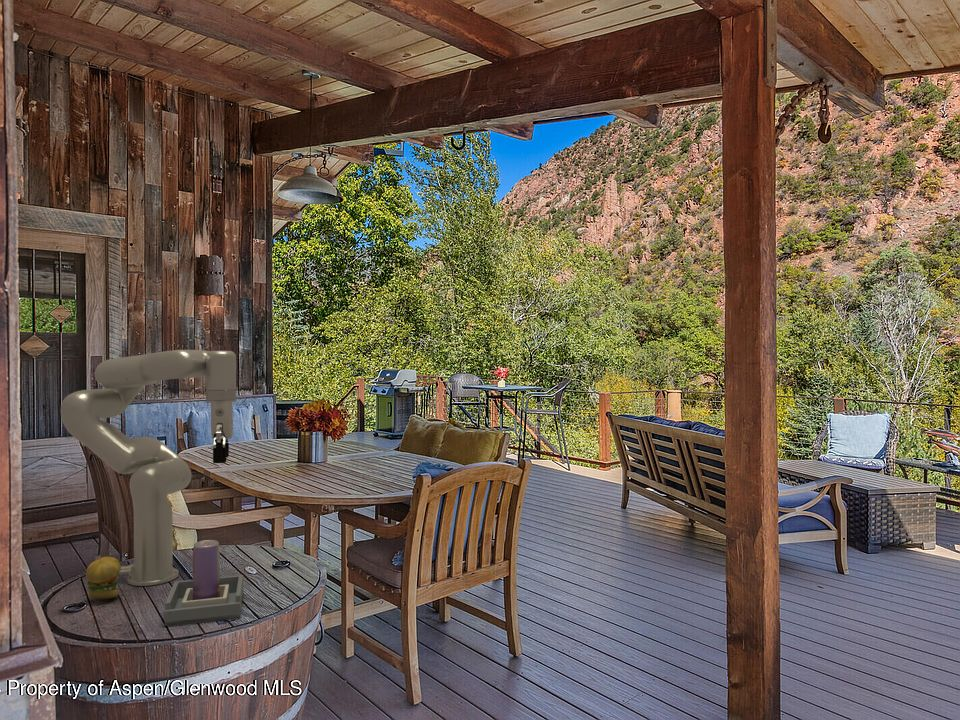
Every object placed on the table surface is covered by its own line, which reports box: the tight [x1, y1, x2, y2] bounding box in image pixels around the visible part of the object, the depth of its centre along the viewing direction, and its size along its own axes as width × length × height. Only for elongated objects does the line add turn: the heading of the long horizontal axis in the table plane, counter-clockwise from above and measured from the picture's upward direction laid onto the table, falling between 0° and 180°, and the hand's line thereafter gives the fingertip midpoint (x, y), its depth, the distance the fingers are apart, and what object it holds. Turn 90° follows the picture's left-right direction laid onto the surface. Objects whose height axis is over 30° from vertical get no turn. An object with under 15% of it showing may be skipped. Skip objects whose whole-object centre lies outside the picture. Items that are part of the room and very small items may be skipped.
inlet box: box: [163, 574, 244, 627], centre depth 154 cm, size 16×16×5 cm
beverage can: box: [192, 539, 221, 600], centre depth 154 cm, size 6×6×15 cm
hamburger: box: [85, 555, 122, 600], centre depth 160 cm, size 8×7×12 cm
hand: (221, 460), depth 172 cm, fingers open, 9 cm apart
